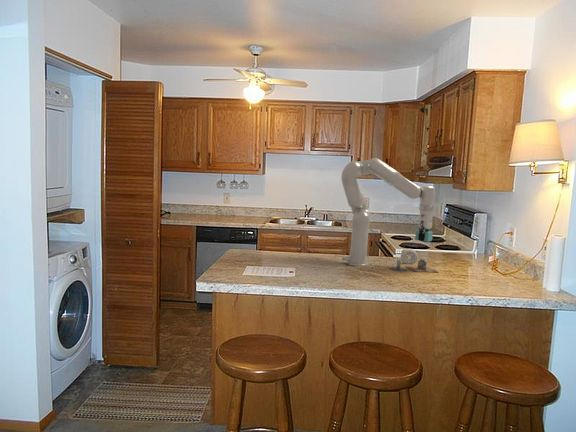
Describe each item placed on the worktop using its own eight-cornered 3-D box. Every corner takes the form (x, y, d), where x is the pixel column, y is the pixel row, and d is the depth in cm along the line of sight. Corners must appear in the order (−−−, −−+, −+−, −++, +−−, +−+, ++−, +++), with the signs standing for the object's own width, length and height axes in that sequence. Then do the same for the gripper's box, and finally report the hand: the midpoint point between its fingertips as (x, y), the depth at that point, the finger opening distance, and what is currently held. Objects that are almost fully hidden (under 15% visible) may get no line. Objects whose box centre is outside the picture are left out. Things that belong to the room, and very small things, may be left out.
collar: (427, 241, 240) (428, 232, 239) (415, 239, 244) (415, 231, 244) (432, 240, 246) (432, 231, 245) (419, 238, 250) (420, 230, 249)
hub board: (414, 273, 240) (415, 261, 239) (405, 268, 252) (406, 256, 251) (438, 274, 242) (439, 262, 242) (427, 269, 254) (429, 257, 253)
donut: (415, 264, 265) (417, 248, 264) (417, 266, 262) (419, 249, 261) (399, 263, 265) (400, 247, 264) (400, 265, 262) (402, 248, 261)
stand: (393, 272, 239) (394, 262, 238) (386, 268, 249) (387, 258, 248) (410, 273, 241) (411, 262, 240) (402, 269, 250) (403, 258, 250)
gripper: (427, 209, 234) (425, 242, 236) (437, 208, 248) (435, 239, 250) (414, 208, 238) (411, 240, 240) (424, 207, 252) (422, 237, 254)
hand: (423, 239), depth 245 cm, fingers closed on collar, 7 cm apart
